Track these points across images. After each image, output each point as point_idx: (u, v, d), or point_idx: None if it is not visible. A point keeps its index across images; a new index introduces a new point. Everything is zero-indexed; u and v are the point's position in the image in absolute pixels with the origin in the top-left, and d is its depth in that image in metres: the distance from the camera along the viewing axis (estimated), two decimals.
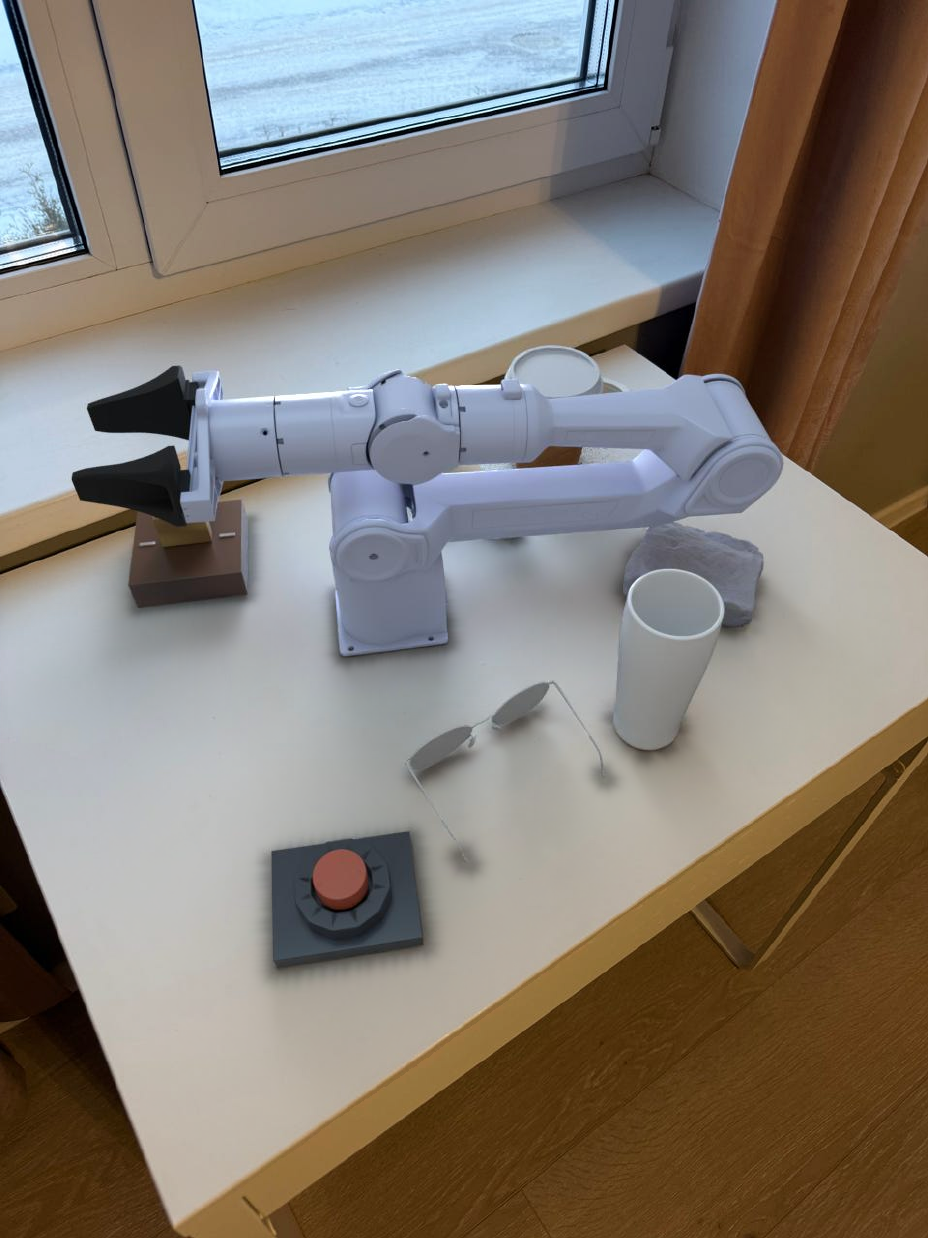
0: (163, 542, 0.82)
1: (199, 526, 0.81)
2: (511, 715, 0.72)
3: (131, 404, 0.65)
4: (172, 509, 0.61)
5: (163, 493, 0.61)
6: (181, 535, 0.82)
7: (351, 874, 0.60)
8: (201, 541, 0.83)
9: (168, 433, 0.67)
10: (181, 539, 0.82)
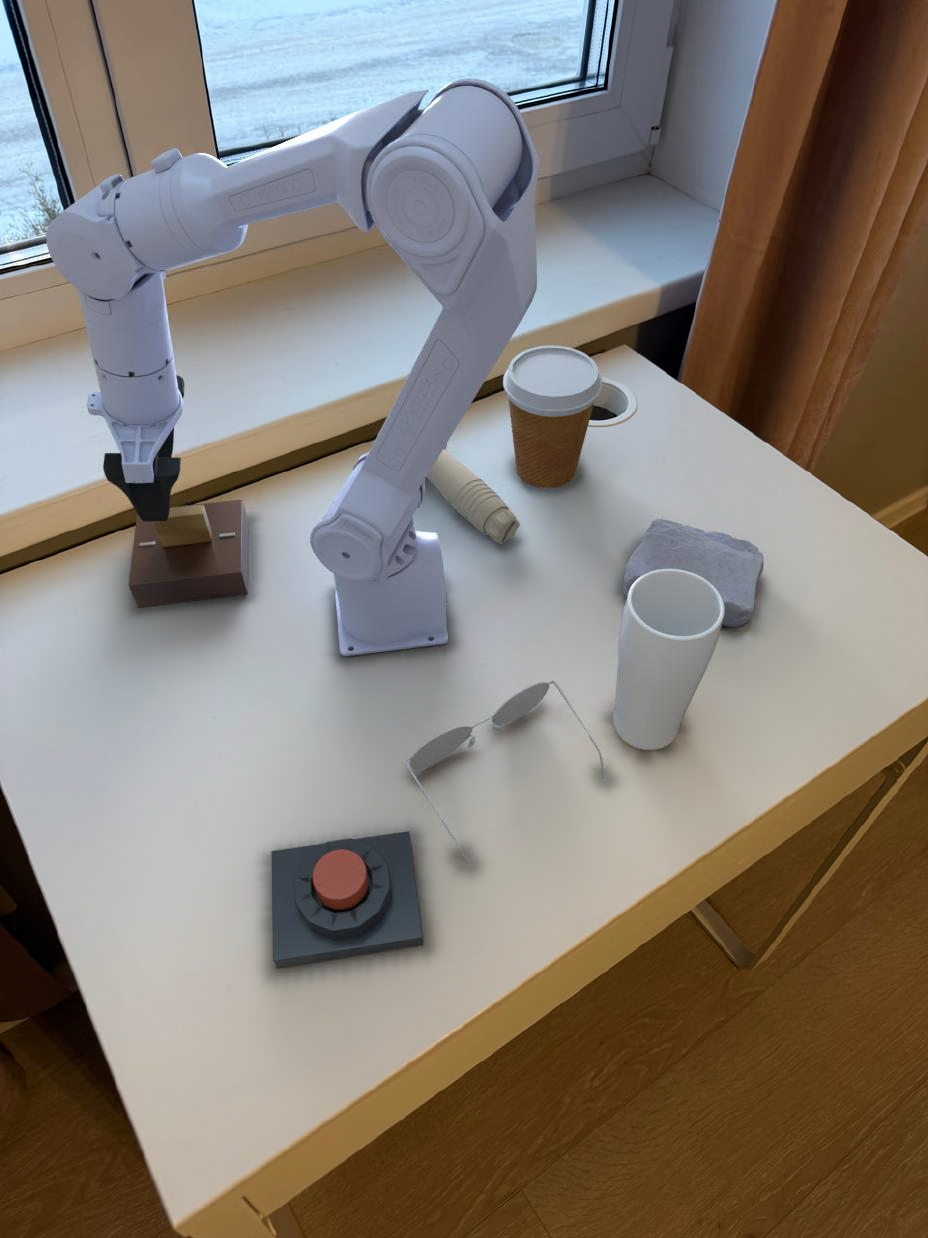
0: (163, 542, 0.82)
1: (199, 526, 0.81)
2: (511, 715, 0.72)
3: None
4: None
5: None
6: (181, 535, 0.82)
7: (351, 874, 0.60)
8: (201, 541, 0.83)
9: None
10: (181, 539, 0.82)
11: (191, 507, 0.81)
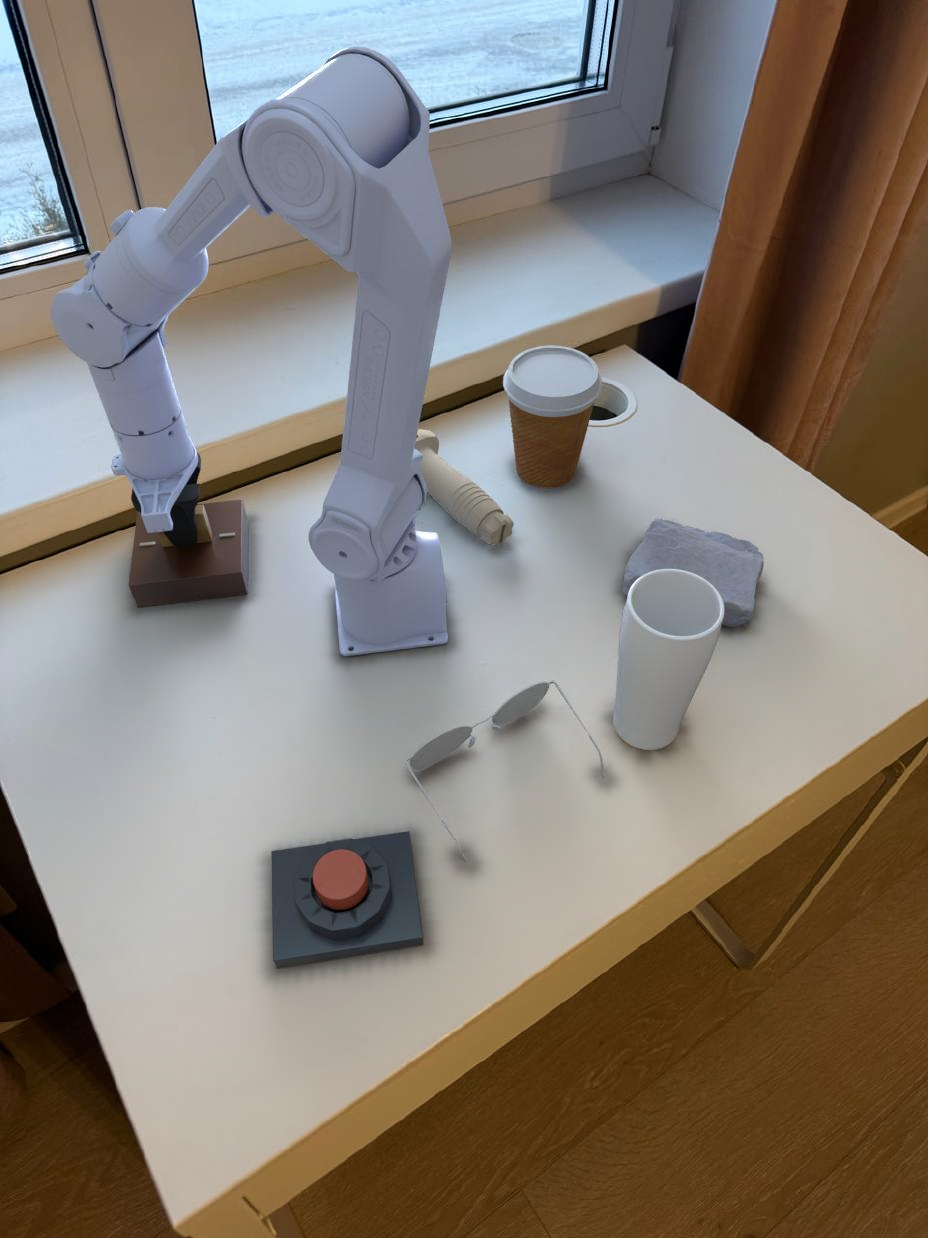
0: (163, 542, 0.82)
1: (199, 526, 0.81)
2: (511, 715, 0.72)
3: None
4: None
5: None
6: None
7: (351, 874, 0.60)
8: (201, 541, 0.83)
9: None
10: None
11: None
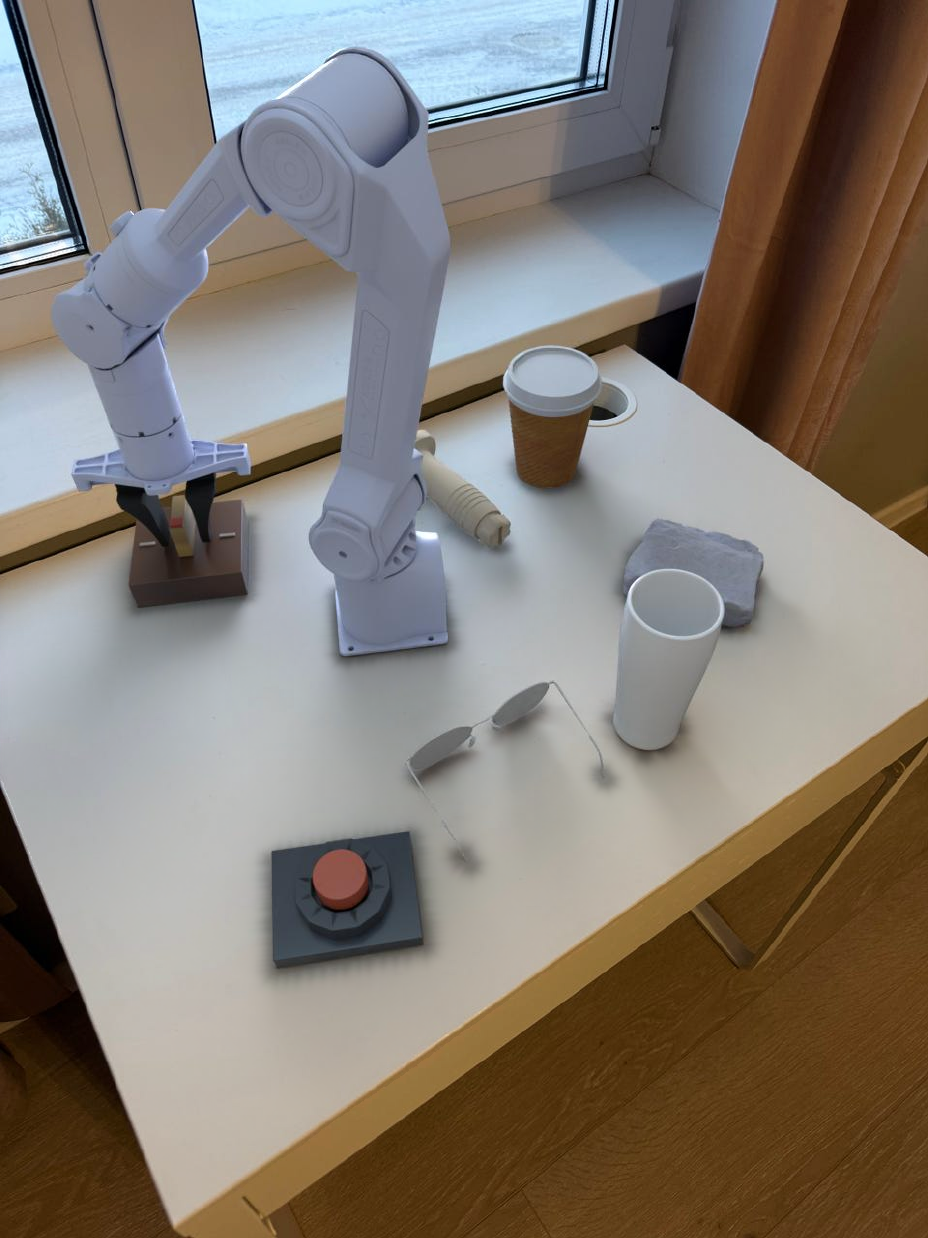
0: (191, 549, 0.82)
1: (190, 511, 0.83)
2: (511, 715, 0.72)
3: (158, 520, 0.80)
4: None
5: None
6: (191, 531, 0.82)
7: (351, 874, 0.60)
8: (194, 527, 0.84)
9: None
10: (192, 536, 0.82)
11: (174, 503, 0.81)
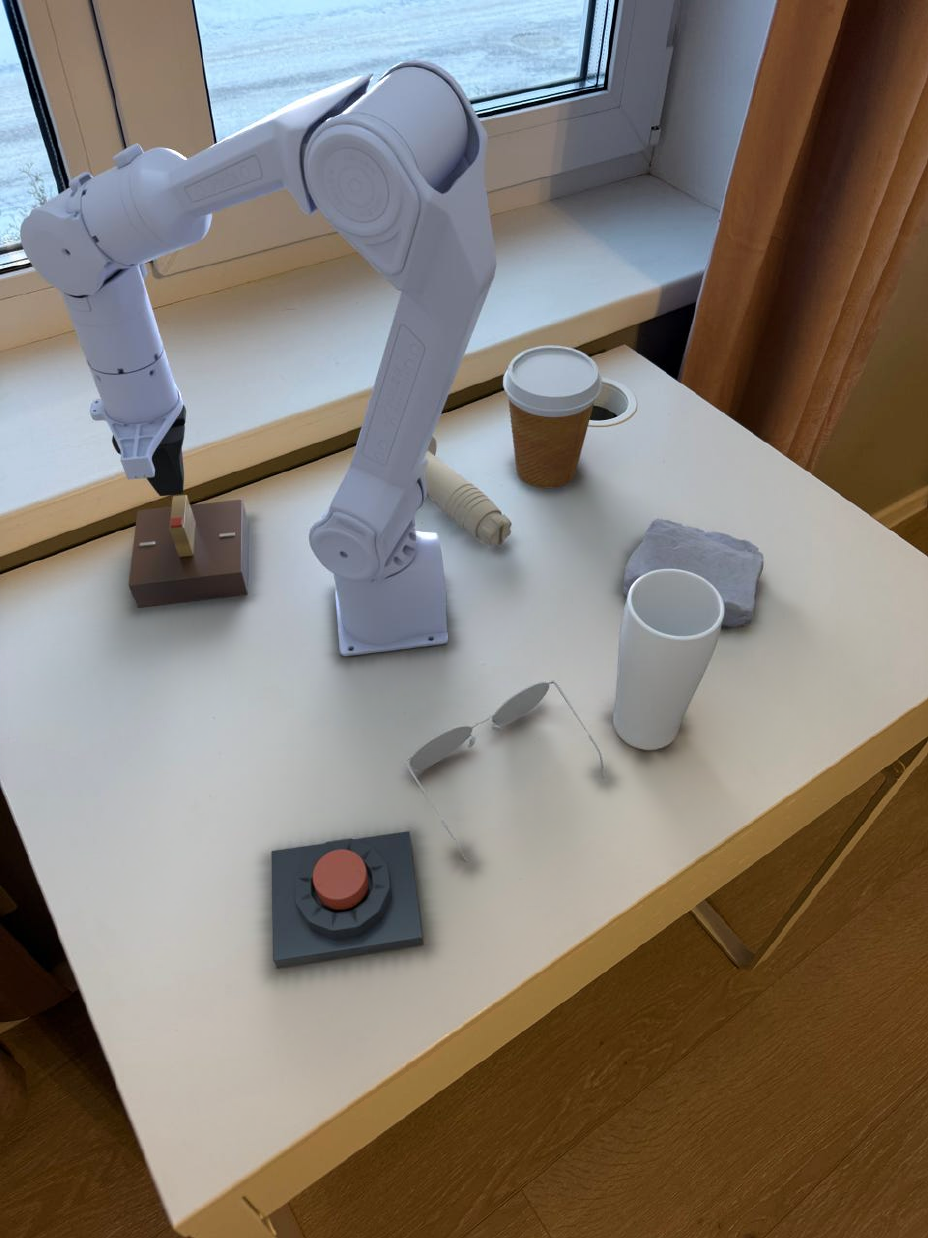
0: (191, 549, 0.82)
1: (190, 511, 0.83)
2: (511, 715, 0.72)
3: None
4: None
5: None
6: (191, 531, 0.82)
7: (351, 874, 0.60)
8: (194, 527, 0.84)
9: None
10: (192, 536, 0.82)
11: (174, 503, 0.81)
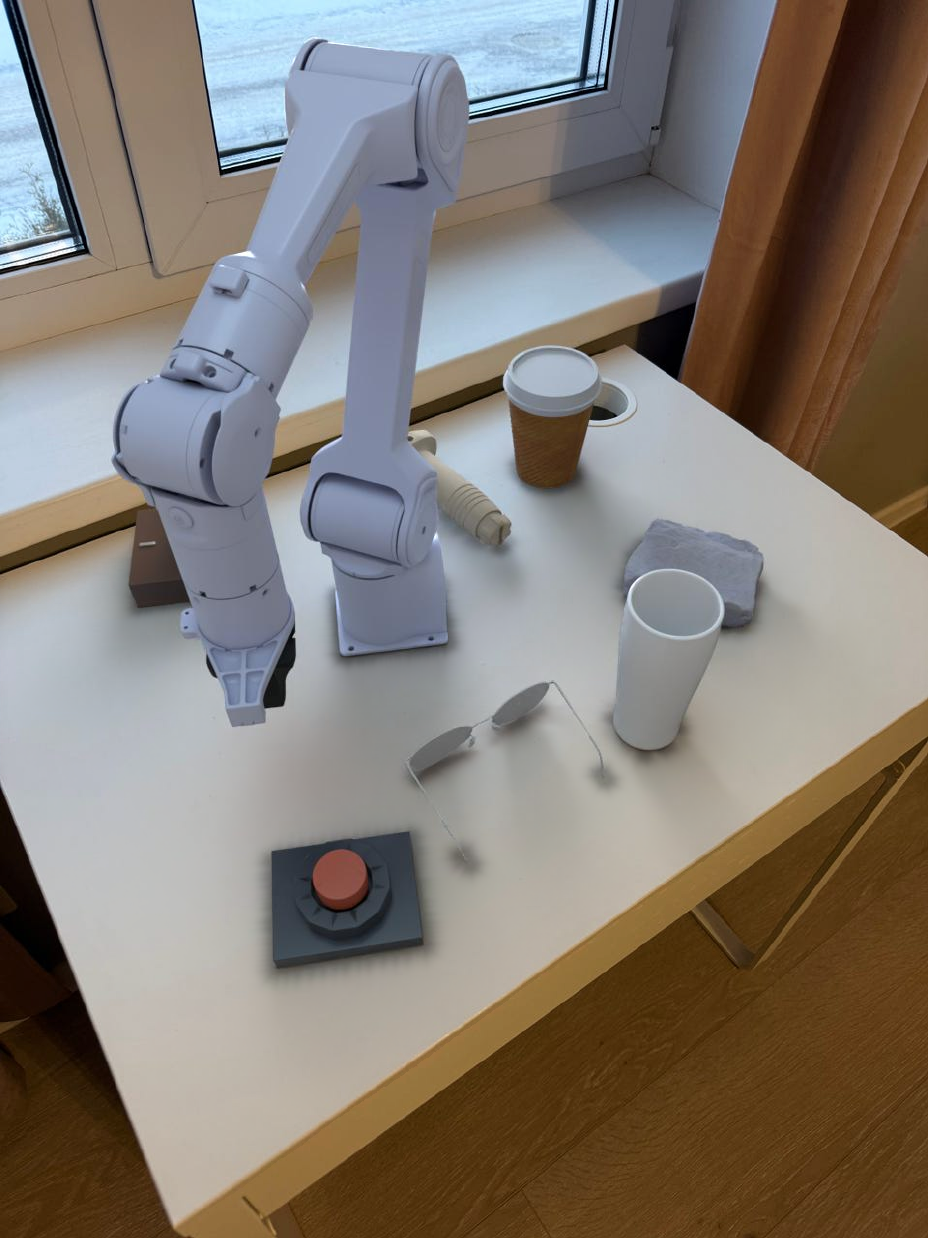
0: None
1: None
2: (511, 715, 0.72)
3: None
4: None
5: None
6: None
7: (351, 874, 0.60)
8: None
9: None
10: None
11: None
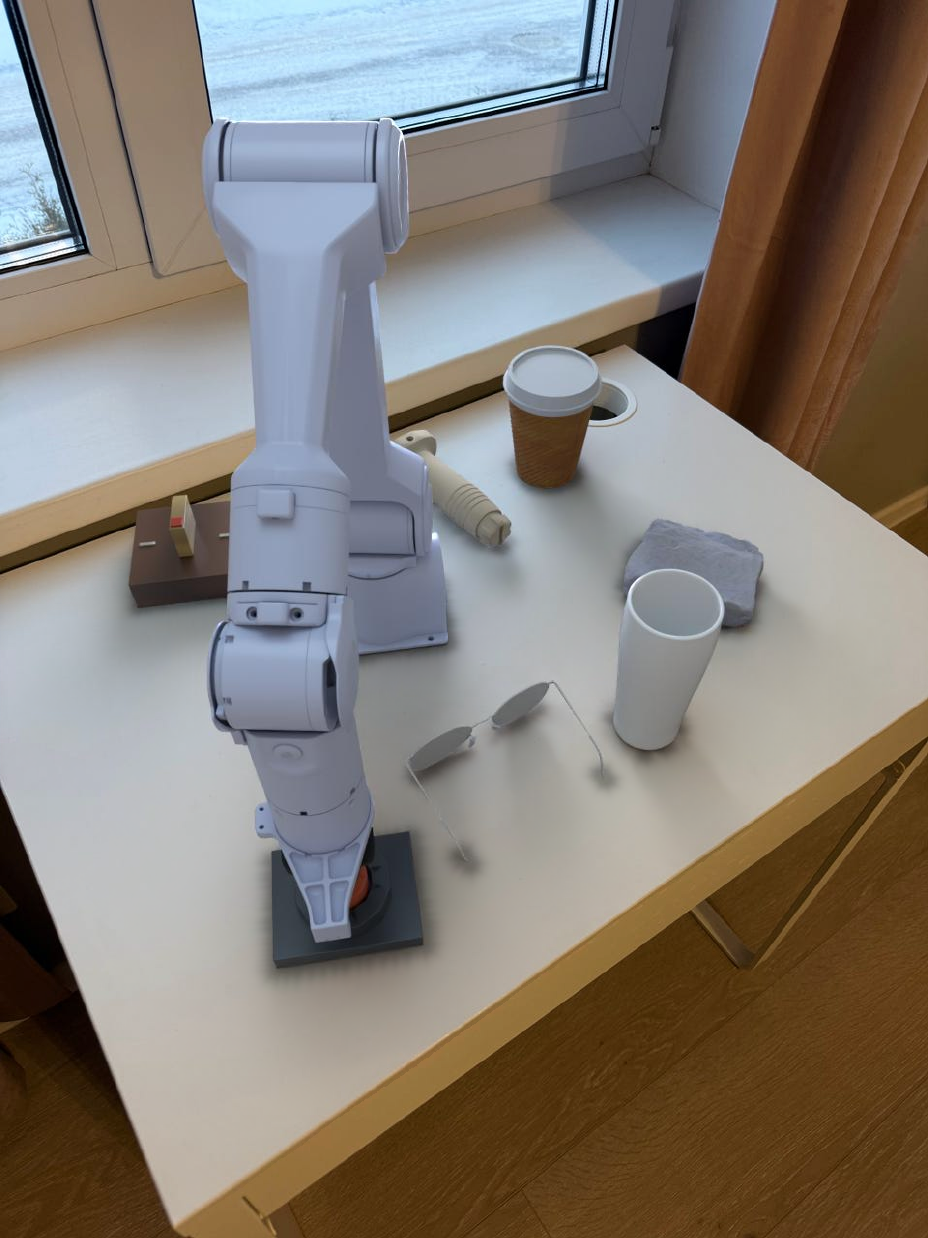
0: (191, 549, 0.82)
1: (190, 511, 0.83)
2: (511, 715, 0.72)
3: None
4: None
5: None
6: (191, 531, 0.82)
7: None
8: (194, 527, 0.84)
9: None
10: (192, 536, 0.82)
11: (174, 503, 0.81)
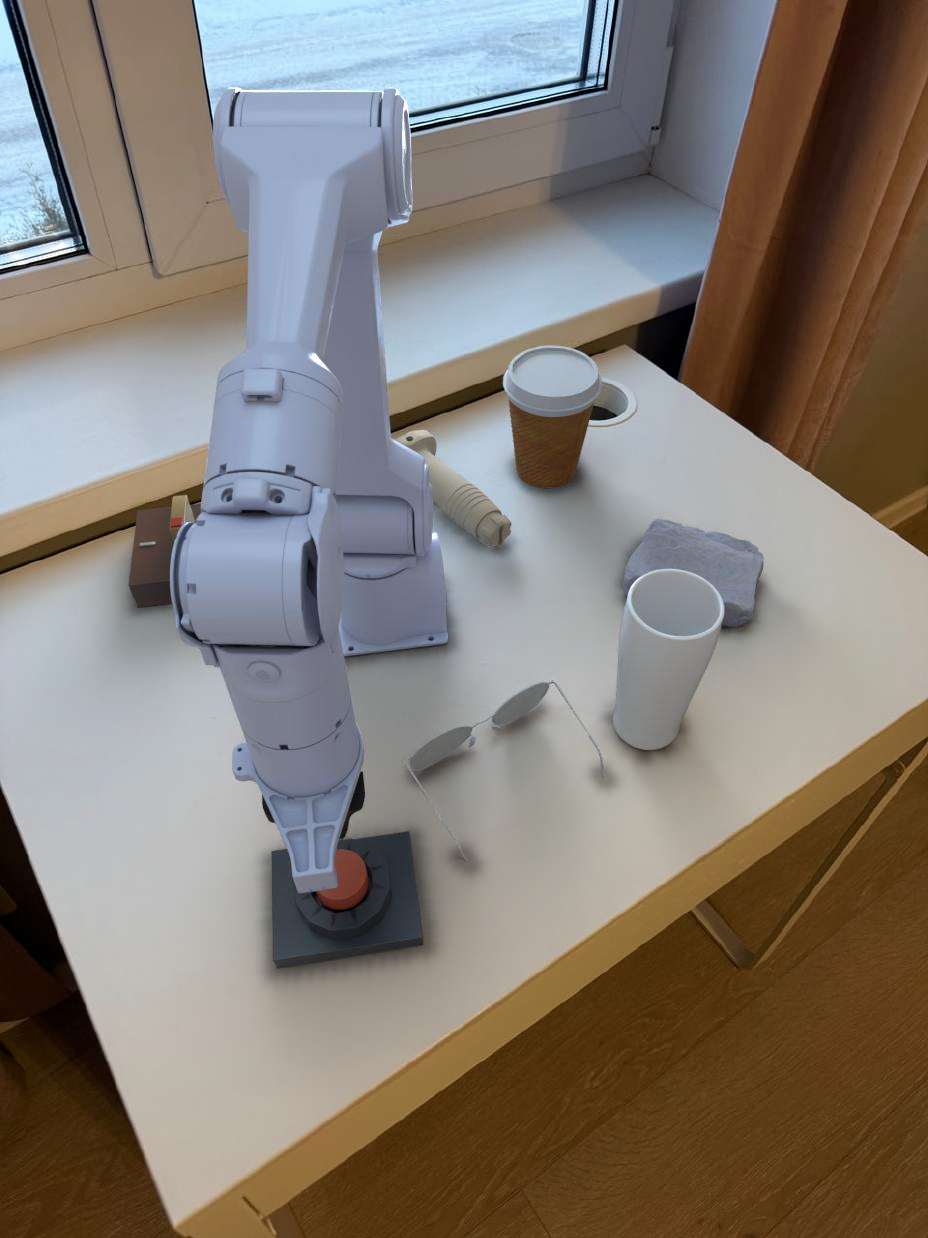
0: None
1: (190, 511, 0.83)
2: (511, 715, 0.72)
3: None
4: None
5: None
6: None
7: (351, 874, 0.60)
8: None
9: None
10: None
11: (174, 503, 0.81)
